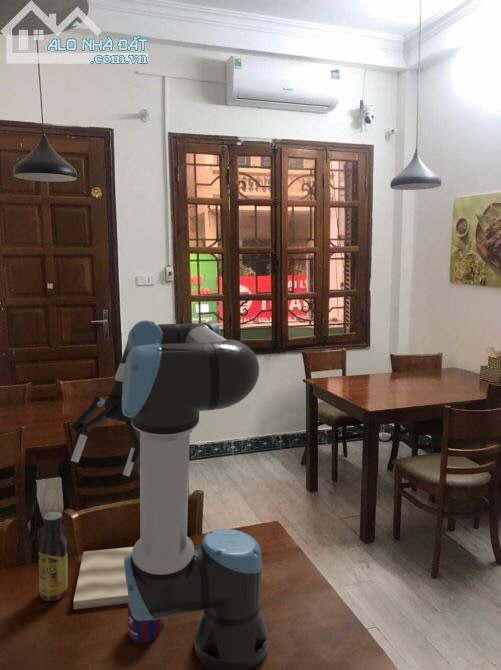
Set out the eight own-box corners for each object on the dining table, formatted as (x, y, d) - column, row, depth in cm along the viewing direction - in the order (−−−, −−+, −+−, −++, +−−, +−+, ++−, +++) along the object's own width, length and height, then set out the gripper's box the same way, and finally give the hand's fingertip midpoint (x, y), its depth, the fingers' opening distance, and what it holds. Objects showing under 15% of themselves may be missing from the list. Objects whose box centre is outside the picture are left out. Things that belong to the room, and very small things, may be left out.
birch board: (137, 601, 118) (137, 593, 118) (73, 609, 115) (73, 601, 115) (138, 553, 137) (138, 546, 137) (83, 558, 134) (83, 551, 134)
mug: (122, 631, 109) (121, 601, 108) (162, 609, 116) (161, 581, 115) (139, 648, 104) (139, 617, 103) (179, 624, 111) (179, 595, 110)
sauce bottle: (33, 599, 118) (29, 518, 115) (52, 583, 124) (48, 506, 121) (56, 606, 116) (52, 524, 113) (74, 589, 122) (71, 511, 119)
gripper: (178, 398, 131) (152, 482, 124) (89, 378, 135) (60, 457, 129) (170, 391, 124) (143, 480, 117) (77, 370, 128) (46, 454, 122)
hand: (99, 468), depth 123 cm, fingers open, 13 cm apart
